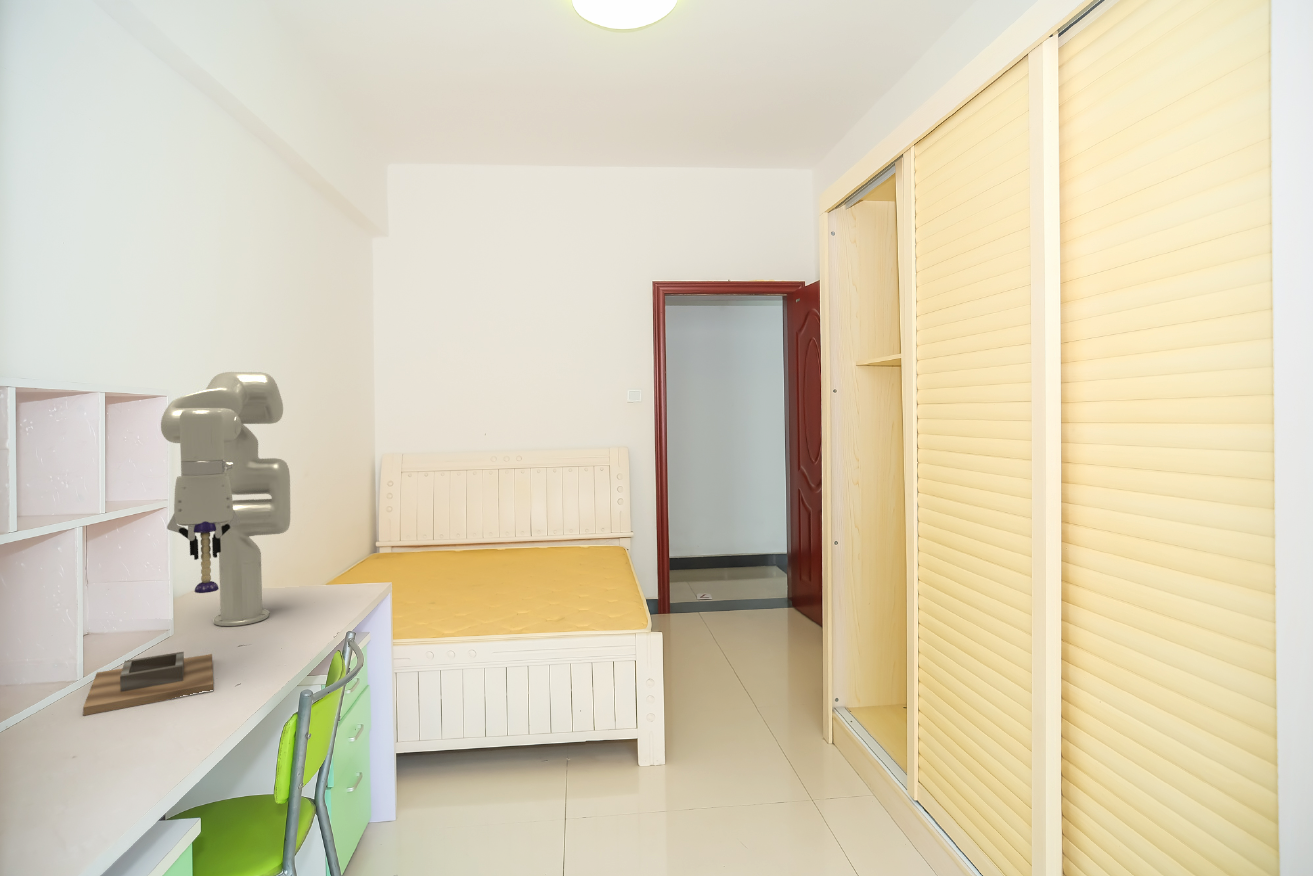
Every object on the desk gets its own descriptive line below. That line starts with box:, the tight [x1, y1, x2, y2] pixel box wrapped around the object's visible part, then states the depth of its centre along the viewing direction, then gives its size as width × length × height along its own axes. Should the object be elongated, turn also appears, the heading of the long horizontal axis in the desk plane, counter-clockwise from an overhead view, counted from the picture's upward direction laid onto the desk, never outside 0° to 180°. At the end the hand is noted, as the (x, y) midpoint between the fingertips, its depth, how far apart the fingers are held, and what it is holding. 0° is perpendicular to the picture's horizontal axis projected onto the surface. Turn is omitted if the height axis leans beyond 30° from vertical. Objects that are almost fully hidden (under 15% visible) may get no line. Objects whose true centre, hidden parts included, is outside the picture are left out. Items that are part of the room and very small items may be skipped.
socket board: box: [82, 651, 214, 717], centre depth 141 cm, size 20×20×4 cm
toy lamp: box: [194, 521, 220, 594], centre depth 145 cm, size 5×5×17 cm
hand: (205, 556), depth 145 cm, fingers closed on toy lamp, 2 cm apart
